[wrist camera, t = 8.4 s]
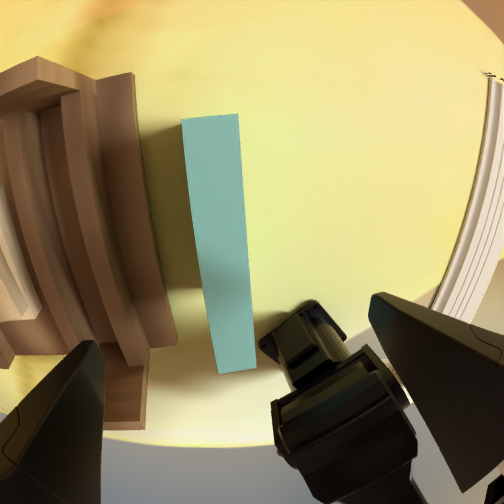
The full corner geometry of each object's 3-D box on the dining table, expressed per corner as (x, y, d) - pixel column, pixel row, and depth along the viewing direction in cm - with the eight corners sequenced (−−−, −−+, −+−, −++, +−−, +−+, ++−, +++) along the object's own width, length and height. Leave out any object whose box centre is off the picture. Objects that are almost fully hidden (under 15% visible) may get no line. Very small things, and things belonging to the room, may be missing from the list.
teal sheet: (216, 119, 18) (238, 113, 10) (231, 283, 23) (256, 367, 15) (185, 123, 17) (181, 119, 9) (205, 287, 23) (218, 374, 14)
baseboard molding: (408, 329, 31) (461, 322, 34) (422, 344, 28) (473, 333, 32) (478, 70, 19) (522, 113, 23) (499, 71, 17) (538, 116, 20)
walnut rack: (134, 75, 15) (91, 37, 7) (177, 335, 24) (180, 427, 15) (-54, 146, 12) (-127, 171, 4) (11, 347, 21) (-21, 415, 13)
